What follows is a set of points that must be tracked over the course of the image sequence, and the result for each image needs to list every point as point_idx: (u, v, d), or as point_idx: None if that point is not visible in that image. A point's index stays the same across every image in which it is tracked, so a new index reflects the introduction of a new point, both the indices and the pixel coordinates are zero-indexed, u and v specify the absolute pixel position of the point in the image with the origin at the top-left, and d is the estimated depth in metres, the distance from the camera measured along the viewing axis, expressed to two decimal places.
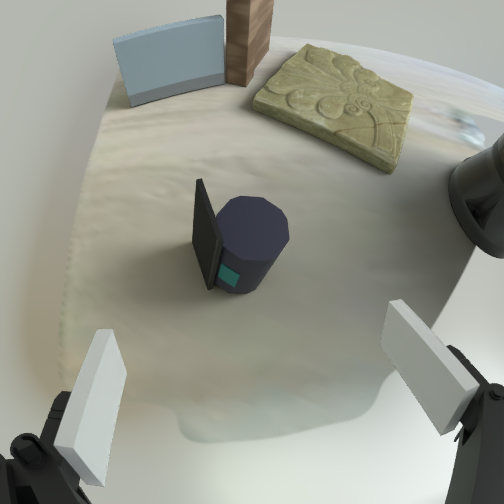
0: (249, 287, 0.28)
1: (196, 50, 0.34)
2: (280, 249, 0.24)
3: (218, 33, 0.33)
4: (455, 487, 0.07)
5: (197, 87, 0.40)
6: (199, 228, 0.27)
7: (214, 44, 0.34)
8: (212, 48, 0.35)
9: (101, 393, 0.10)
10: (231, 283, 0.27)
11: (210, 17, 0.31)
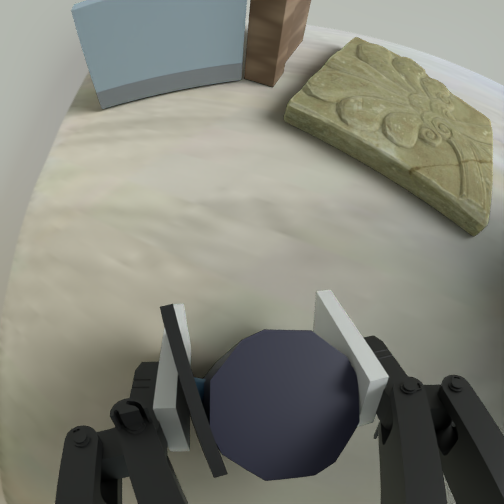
0: None
1: (202, 24, 0.21)
2: (341, 446, 0.10)
3: (238, 0, 0.19)
4: (387, 489, 0.07)
5: (201, 82, 0.27)
6: None
7: (230, 17, 0.21)
8: (227, 23, 0.21)
9: None
10: None
11: None
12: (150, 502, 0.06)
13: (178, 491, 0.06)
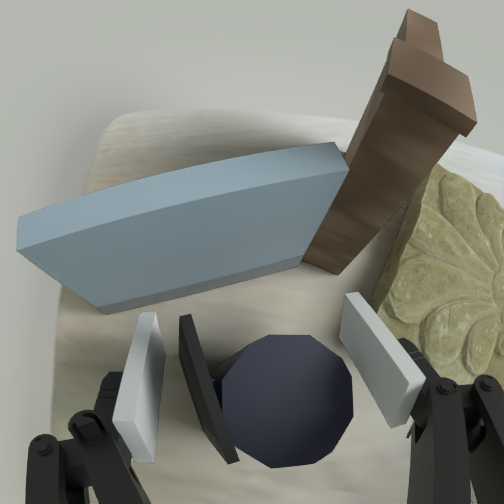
0: None
1: (255, 235, 0.15)
2: (337, 438, 0.11)
3: (321, 200, 0.14)
4: (414, 487, 0.07)
5: (244, 279, 0.21)
6: (189, 366, 0.15)
7: (301, 221, 0.15)
8: (295, 227, 0.16)
9: (150, 371, 0.12)
10: None
11: (308, 153, 0.12)
12: None
13: (141, 500, 0.06)
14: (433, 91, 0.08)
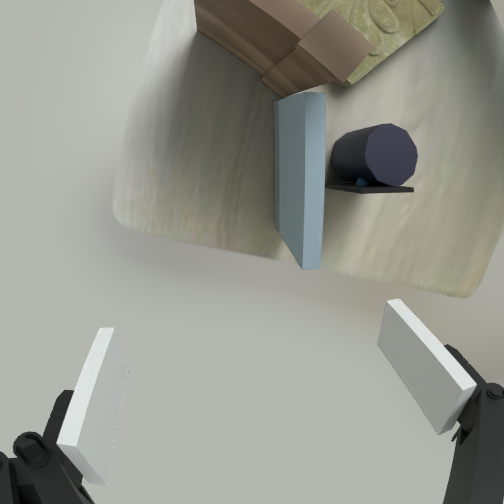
0: None
1: None
2: (411, 141, 0.25)
3: None
4: (453, 487, 0.07)
5: None
6: None
7: None
8: None
9: (104, 392, 0.10)
10: None
11: (310, 111, 0.21)
12: None
13: None
14: (354, 61, 0.15)
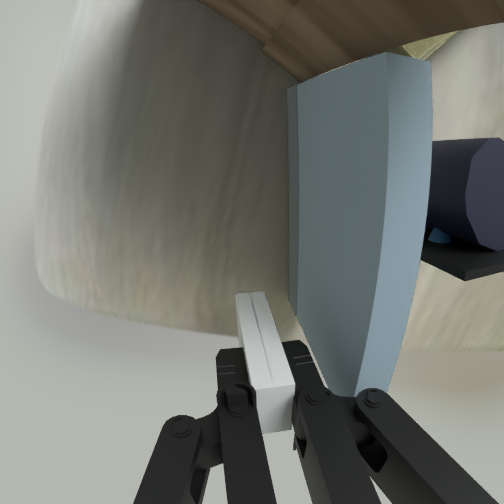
0: None
1: None
2: None
3: None
4: None
5: None
6: None
7: None
8: None
9: None
10: None
11: (401, 103, 0.07)
12: (239, 485, 0.07)
13: (270, 478, 0.07)
14: None
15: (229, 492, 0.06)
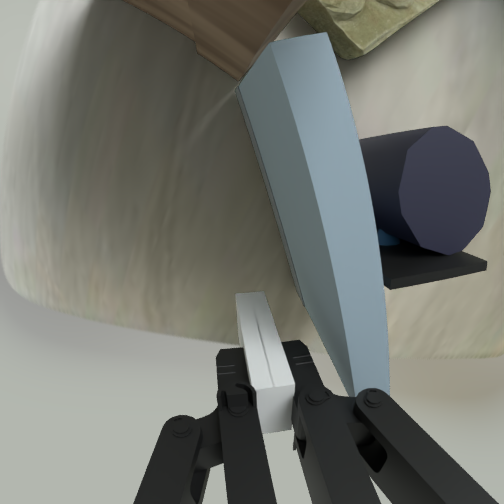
0: None
1: None
2: (482, 163, 0.12)
3: None
4: None
5: None
6: None
7: None
8: None
9: None
10: None
11: (302, 90, 0.07)
12: (239, 485, 0.07)
13: (270, 478, 0.07)
14: None
15: (229, 492, 0.06)
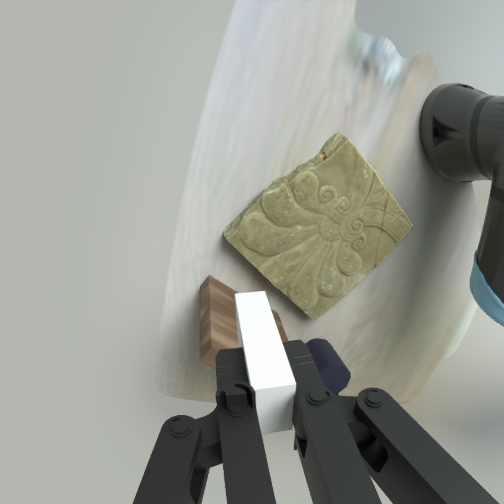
0: None
1: None
2: (347, 370, 0.42)
3: None
4: None
5: None
6: None
7: None
8: None
9: None
10: None
11: None
12: (238, 485, 0.07)
13: (269, 478, 0.07)
14: None
15: (228, 492, 0.06)
